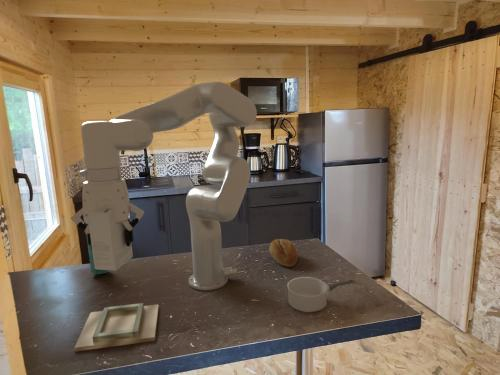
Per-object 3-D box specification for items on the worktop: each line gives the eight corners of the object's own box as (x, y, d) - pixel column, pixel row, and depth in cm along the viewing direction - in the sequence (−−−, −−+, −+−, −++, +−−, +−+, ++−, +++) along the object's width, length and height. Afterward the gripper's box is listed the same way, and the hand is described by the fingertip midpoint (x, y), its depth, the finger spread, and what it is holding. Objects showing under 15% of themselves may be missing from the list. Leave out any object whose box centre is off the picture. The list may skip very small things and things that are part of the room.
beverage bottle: (104, 279, 115) (97, 222, 111) (86, 277, 116) (79, 221, 112) (115, 270, 121) (109, 216, 117) (98, 269, 123) (92, 215, 119)
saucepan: (363, 308, 95) (364, 289, 94) (294, 318, 91) (295, 299, 90) (343, 288, 106) (344, 271, 105) (281, 296, 102) (281, 279, 101)
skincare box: (113, 256, 90) (106, 201, 87) (134, 257, 88) (128, 201, 85) (93, 270, 82) (84, 210, 79) (116, 271, 80) (108, 210, 77)
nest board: (158, 307, 97) (158, 299, 97) (154, 340, 83) (153, 331, 82) (91, 315, 94) (90, 307, 93) (74, 351, 80) (73, 342, 79)
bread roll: (277, 271, 119) (277, 249, 117) (264, 255, 133) (264, 235, 131) (303, 267, 121) (303, 246, 119) (287, 252, 135) (287, 232, 134)
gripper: (58, 179, 75) (68, 255, 79) (140, 175, 78) (147, 248, 82) (69, 174, 82) (78, 243, 86) (144, 170, 85) (150, 237, 89)
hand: (111, 245), depth 84 cm, fingers closed on skincare box, 7 cm apart
